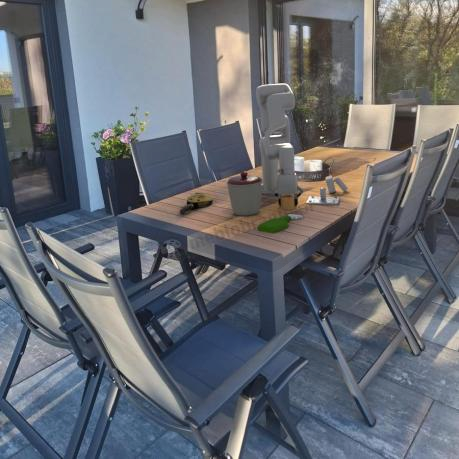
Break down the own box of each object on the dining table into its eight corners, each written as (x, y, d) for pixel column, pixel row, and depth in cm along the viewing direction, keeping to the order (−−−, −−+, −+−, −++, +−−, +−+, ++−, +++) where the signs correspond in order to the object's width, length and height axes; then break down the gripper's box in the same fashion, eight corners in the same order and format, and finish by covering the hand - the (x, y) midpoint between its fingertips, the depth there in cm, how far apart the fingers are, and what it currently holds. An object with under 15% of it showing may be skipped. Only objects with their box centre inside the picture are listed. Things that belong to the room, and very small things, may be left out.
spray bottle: (255, 231, 218) (286, 217, 235) (275, 234, 211) (306, 220, 228) (255, 224, 217) (286, 211, 234) (275, 228, 210) (305, 213, 228)
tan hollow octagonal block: (280, 209, 246) (279, 197, 244) (282, 205, 252) (282, 194, 250) (293, 209, 244) (293, 197, 242) (296, 205, 250) (296, 194, 248)
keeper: (305, 204, 251) (305, 191, 248) (309, 198, 261) (309, 185, 259) (337, 204, 246) (337, 191, 244) (340, 198, 257) (340, 185, 254)
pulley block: (170, 202, 250) (197, 188, 275) (169, 213, 252) (196, 198, 278) (194, 207, 245) (219, 193, 270) (194, 218, 247) (219, 203, 273)
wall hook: (348, 192, 265) (344, 174, 262) (330, 197, 268) (325, 179, 265) (348, 188, 272) (344, 171, 270) (330, 193, 275) (325, 176, 273)
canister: (253, 220, 232) (250, 176, 225) (221, 216, 241) (218, 174, 235) (270, 209, 246) (268, 168, 240) (240, 206, 256) (237, 167, 249)
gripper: (268, 173, 241) (269, 207, 247) (303, 172, 236) (304, 208, 241) (271, 169, 248) (273, 203, 254) (305, 169, 243) (306, 204, 248)
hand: (288, 205), depth 247 cm, fingers closed on tan hollow octagonal block, 7 cm apart
